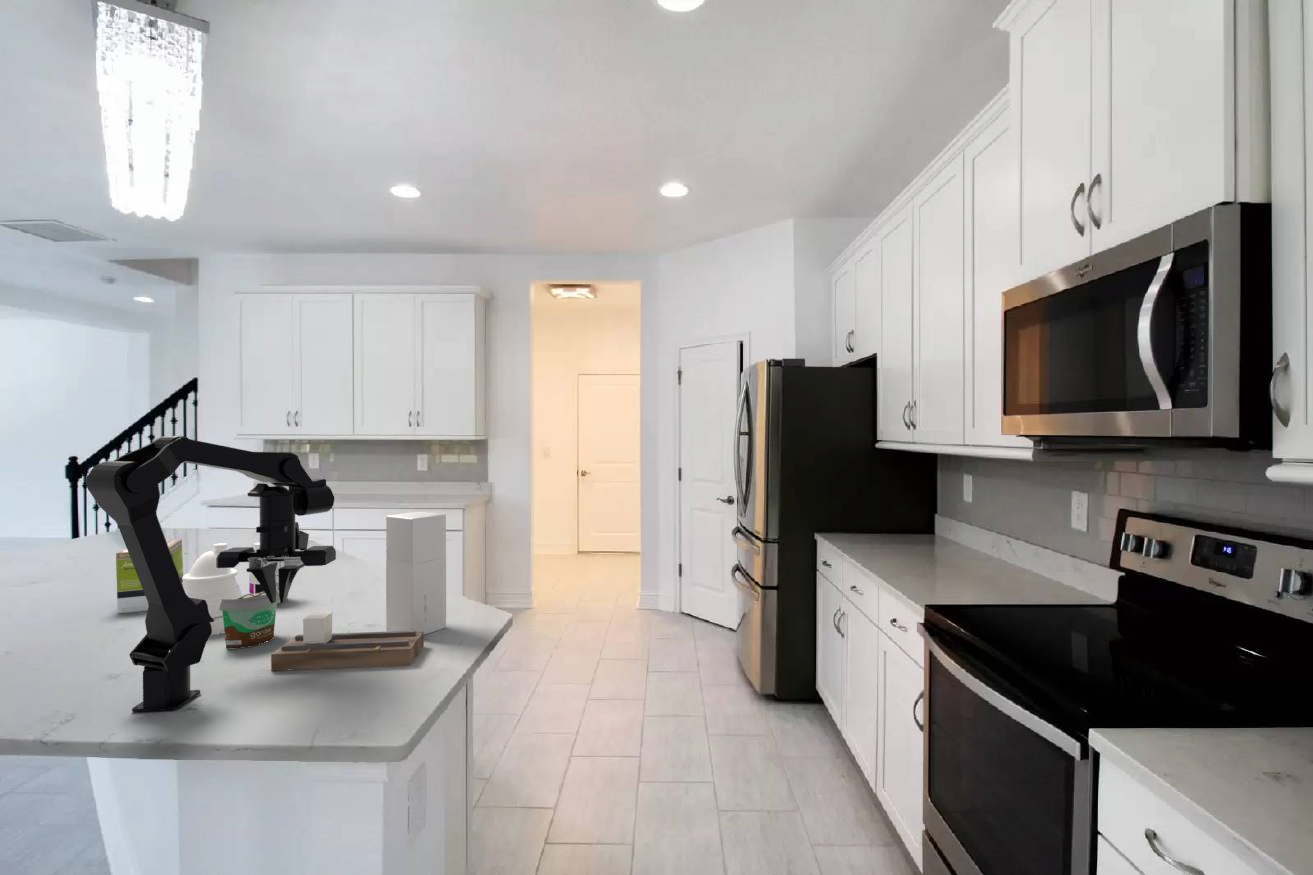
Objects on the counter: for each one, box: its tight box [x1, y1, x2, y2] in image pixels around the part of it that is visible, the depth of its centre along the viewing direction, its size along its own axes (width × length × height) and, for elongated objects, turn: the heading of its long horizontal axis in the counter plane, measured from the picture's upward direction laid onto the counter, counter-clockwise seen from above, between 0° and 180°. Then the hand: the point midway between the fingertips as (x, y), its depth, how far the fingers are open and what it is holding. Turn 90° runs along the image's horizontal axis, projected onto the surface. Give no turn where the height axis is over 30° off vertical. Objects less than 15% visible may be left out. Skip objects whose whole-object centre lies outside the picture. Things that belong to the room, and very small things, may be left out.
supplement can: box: [248, 540, 289, 605], centre depth 157 cm, size 8×8×15 cm
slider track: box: [270, 630, 425, 672], centre depth 119 cm, size 10×24×4 cm, turn 97°
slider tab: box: [302, 611, 333, 644], centre depth 118 cm, size 4×4×5 cm
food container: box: [219, 587, 280, 649], centre depth 128 cm, size 12×6×10 cm, turn 168°
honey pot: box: [182, 542, 243, 636], centre depth 137 cm, size 13×13×18 cm
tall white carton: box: [385, 511, 447, 636], centre depth 136 cm, size 9×9×25 cm
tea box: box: [115, 538, 184, 614], centre depth 156 cm, size 15×10×15 cm
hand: (278, 602), depth 117 cm, fingers closed
